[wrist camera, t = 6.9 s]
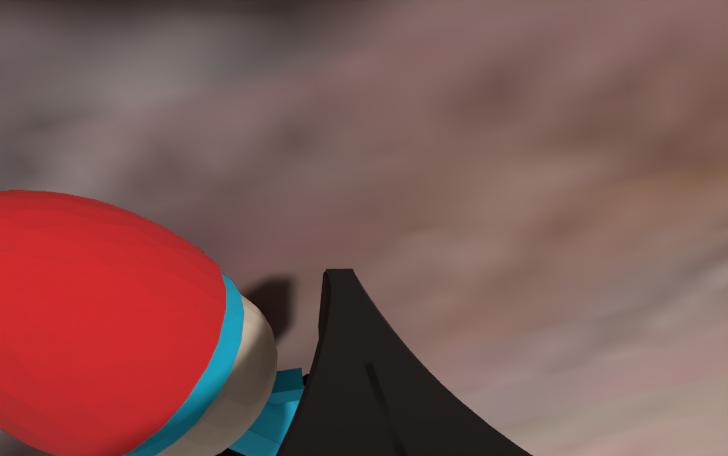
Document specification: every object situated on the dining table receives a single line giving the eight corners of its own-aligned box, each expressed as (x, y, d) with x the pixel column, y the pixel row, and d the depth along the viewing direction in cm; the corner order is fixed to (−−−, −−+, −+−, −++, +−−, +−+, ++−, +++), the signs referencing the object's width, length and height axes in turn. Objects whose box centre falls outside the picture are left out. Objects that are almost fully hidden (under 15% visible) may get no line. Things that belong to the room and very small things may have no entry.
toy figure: (423, 366, 19) (121, 45, 9) (465, 504, 16) (48, 239, 5) (261, 434, 21) (-158, 229, 10) (266, 574, 17) (-357, 474, 7)
